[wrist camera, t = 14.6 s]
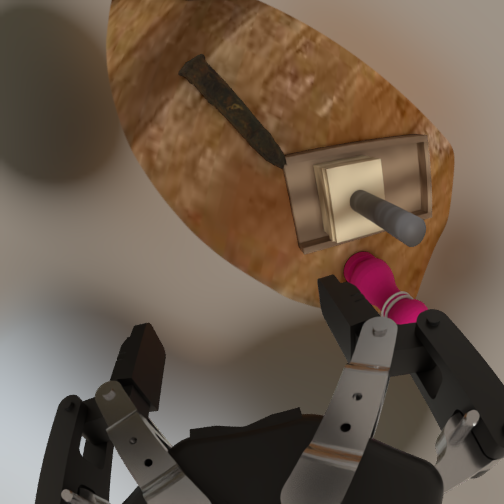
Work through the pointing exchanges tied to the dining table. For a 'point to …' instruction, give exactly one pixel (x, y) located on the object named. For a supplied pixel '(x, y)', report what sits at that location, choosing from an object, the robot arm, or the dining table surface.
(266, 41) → the dining table surface
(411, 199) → the bay
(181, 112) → the dining table surface
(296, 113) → the dining table surface
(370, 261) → the pepper mill
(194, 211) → the dining table surface
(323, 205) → the joystick
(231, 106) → the hand tool
